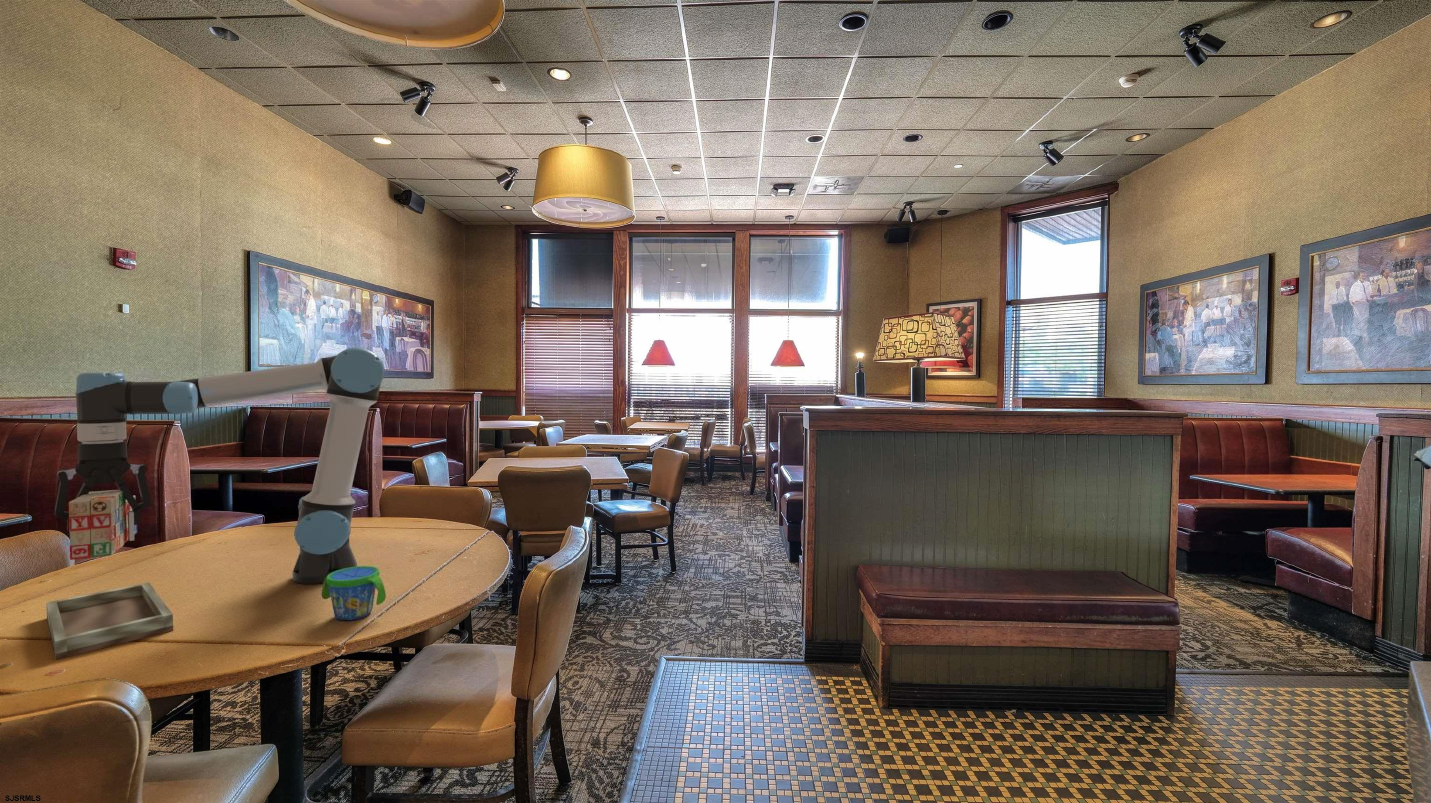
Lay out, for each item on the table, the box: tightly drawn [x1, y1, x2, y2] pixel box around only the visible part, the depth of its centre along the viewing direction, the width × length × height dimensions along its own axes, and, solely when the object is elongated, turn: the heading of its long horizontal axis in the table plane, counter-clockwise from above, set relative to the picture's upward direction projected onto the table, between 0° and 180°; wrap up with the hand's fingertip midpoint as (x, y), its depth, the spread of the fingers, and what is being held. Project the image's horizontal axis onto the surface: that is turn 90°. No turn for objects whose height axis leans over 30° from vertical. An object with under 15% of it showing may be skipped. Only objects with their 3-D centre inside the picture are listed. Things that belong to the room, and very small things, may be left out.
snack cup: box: [321, 565, 387, 621], centre depth 135 cm, size 16×10×10 cm
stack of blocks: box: [68, 489, 138, 561], centre depth 129 cm, size 21×6×12 cm, turn 35°
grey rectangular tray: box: [45, 582, 174, 660], centre depth 129 cm, size 17×31×4 cm, turn 52°
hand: (105, 543), depth 128 cm, fingers closed on stack of blocks, 7 cm apart
